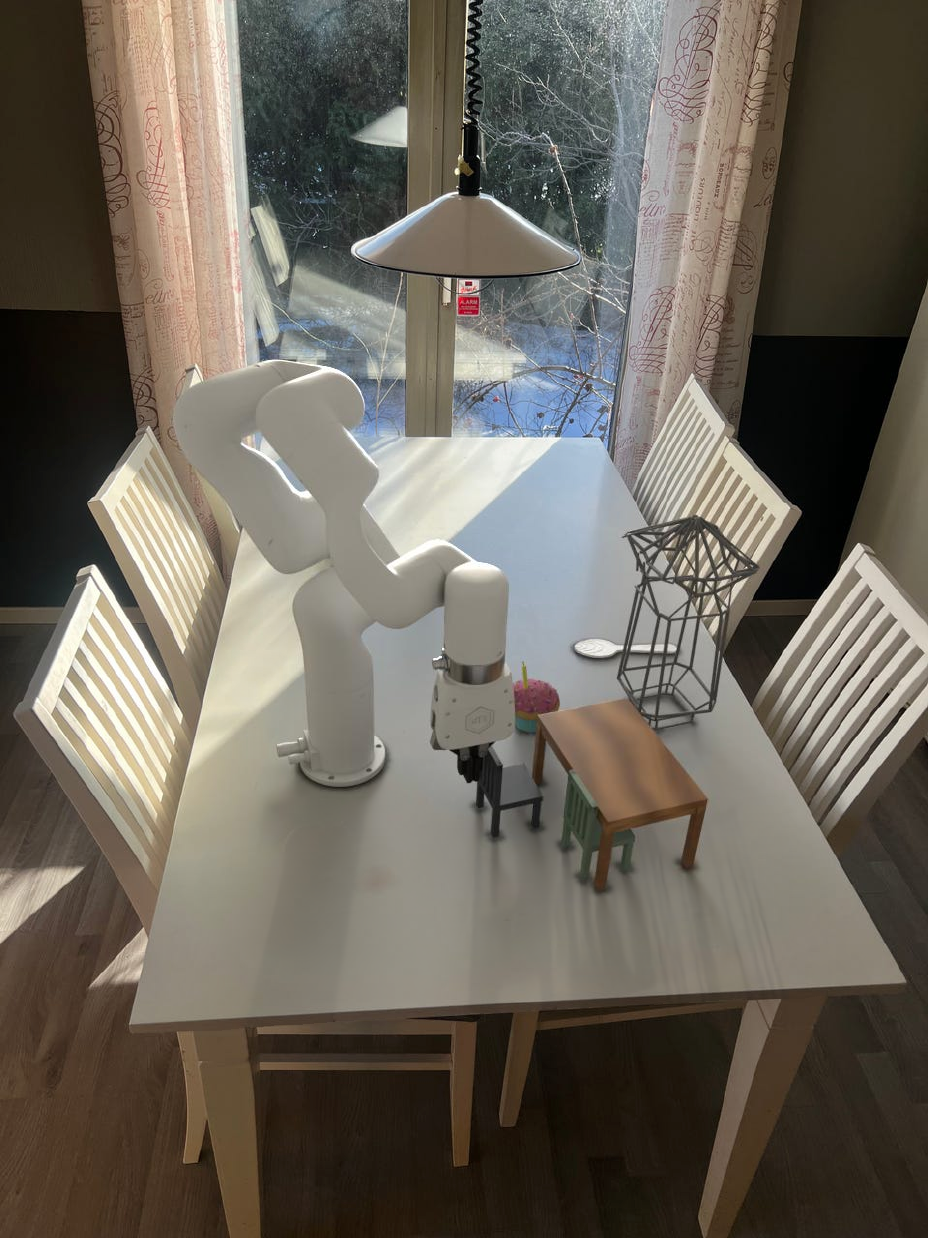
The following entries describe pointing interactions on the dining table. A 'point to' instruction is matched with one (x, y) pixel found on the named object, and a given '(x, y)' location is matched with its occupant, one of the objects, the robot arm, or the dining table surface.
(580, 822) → the sage chair
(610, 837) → the oak table
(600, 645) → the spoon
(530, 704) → the cupcake
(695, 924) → the dining table surface
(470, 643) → the robot arm
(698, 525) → the geometric lantern
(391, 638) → the dining table surface
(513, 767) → the charcoal chair
